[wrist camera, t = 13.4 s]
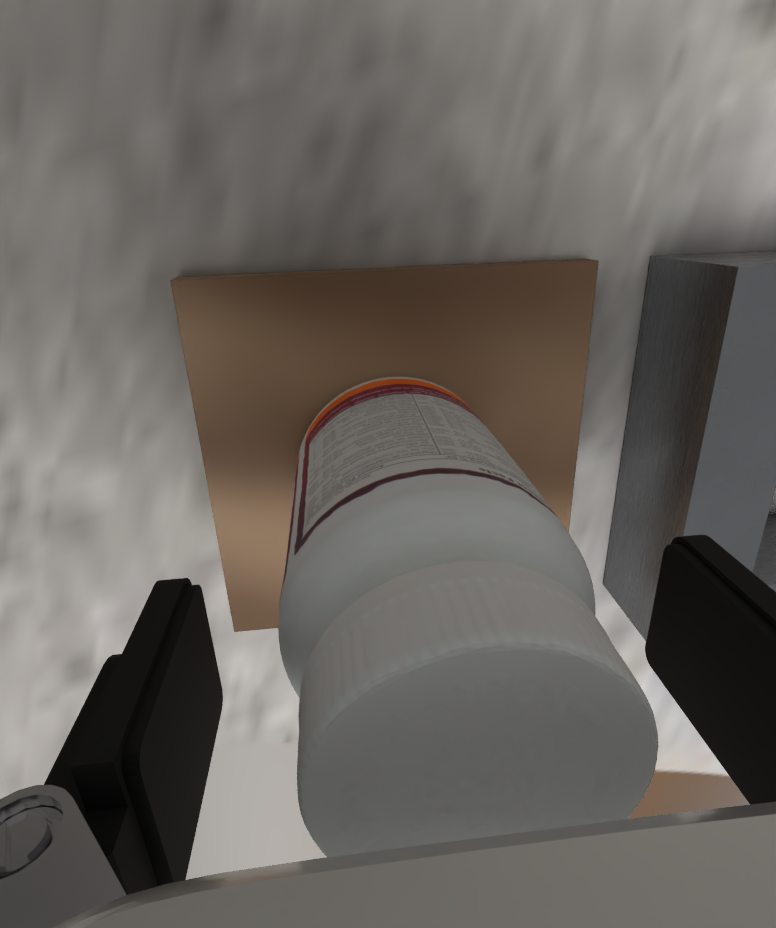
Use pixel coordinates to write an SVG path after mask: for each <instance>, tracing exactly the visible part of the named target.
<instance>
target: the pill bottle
mask: <svg viewBox="0 0 776 928" xmlns="http://www.w3.org/2000/svg"><path fill="white" fill-rule="evenodd" d="M278 628H279V643H280V651H281V655H282V660H283V664H284V667H285V670H286V673H287V675H288V678H289V680H290V682H291V684H292V686H293V688H294V690H295V691H296V693H297V695H298V696H299V698H300V702H299V743H298V765H297V786H298V800H299V806H300V811H301V815H302V818H303V821H304V823H305V825H306V827H307V829H308V831H309V833H310V835H311V836H312V838H313V840H314V841H315V843H316V844H317V845H318V846H319V848H320V849H321V850H322V852H323V853H324V854H325V855H326V856H327V857H335V856H342V855H350V854H358V853H365V852H373V851H381V850H388V849H396V848H404V847H412V846H419V845H427V844H435V843H442V842H450V841H458V840H465V839H473V838H481V837H489V836H497V835H505V834H513V833H521V832H529V831H537V830H545V829H553V828H561V827H569V826H577V825H585V824H593V823H602V822H610V821H618V820H626V819H628V818H629V817H630V816H631V814H632V813H633V811H634V810H635V808H636V807H637V806H638V804H639V803H640V801H641V800H642V798H643V797H644V794H645V792H646V790H647V788H648V786H649V784H650V782H651V779H652V777H653V774H654V771H655V765H656V761H657V751H658V734H657V728H656V723H655V719H654V715H653V711H652V709H651V707H650V704H649V702H648V700H647V698H646V696H645V694H644V692H643V690H642V689H641V687H640V685H639V684H638V682H637V681H636V679H635V677H634V676H633V674H632V673H631V671H630V670H629V668H628V667H627V665H626V664H625V662H624V661H623V659H622V658H621V656H620V655H619V653H618V652H617V650H616V649H615V648H614V646H613V644H612V643H611V641H610V639H609V637H608V635H607V634H606V632H605V630H604V629H603V627H602V626H601V624H600V623H599V621H598V620H597V618H596V617H595V597H594V590H593V584H592V580H591V577H590V574H589V571H588V568H587V565H586V563H585V561H584V559H583V556H582V555H581V553H580V551H579V549H578V547H577V546H576V544H575V543H574V541H573V540H572V538H571V536H570V534H569V532H568V530H567V529H566V528H565V526H564V525H563V524H562V522H561V521H560V519H559V518H558V517H557V516H556V515H555V513H554V512H553V511H552V510H551V508H550V507H549V506H548V504H547V503H546V501H545V500H544V499H543V497H542V496H541V494H540V493H539V491H538V490H537V489H536V488H535V486H534V485H533V484H532V482H531V481H530V480H529V479H528V477H527V476H526V475H525V473H524V472H523V471H522V470H521V469H520V467H519V466H518V465H517V464H516V463H515V461H514V460H513V459H512V458H511V456H510V455H509V454H508V452H507V451H506V450H505V449H504V447H503V446H502V445H501V444H500V443H499V442H498V440H497V439H496V438H495V437H494V435H493V434H492V433H491V432H490V430H489V429H488V428H487V426H485V424H484V423H483V422H482V421H481V420H480V418H479V417H478V416H477V415H476V414H475V412H474V411H473V410H472V409H471V408H470V407H469V406H468V405H467V404H466V403H465V402H464V401H463V400H462V399H460V398H459V397H458V396H457V395H455V394H454V393H453V392H451V391H449V390H447V389H446V388H444V387H442V386H440V385H437V384H435V383H432V382H430V381H426V380H423V379H417V378H410V377H385V378H378V379H374V380H370V381H367V382H364V383H361V384H359V385H356V386H354V387H352V388H350V389H348V390H346V391H344V392H343V393H341V394H339V395H338V396H337V397H336V398H334V399H333V400H332V401H331V402H329V403H328V404H327V405H326V406H325V407H324V408H323V409H322V410H321V411H320V412H319V414H318V415H317V416H316V418H315V419H314V420H313V422H312V423H311V425H310V426H309V428H308V430H307V432H306V434H305V436H304V439H303V441H302V444H301V447H300V451H299V455H298V460H297V467H296V475H295V480H294V492H293V504H292V512H291V522H290V531H289V539H288V548H287V557H286V565H285V573H284V579H283V584H282V589H281V596H280V602H279V625H278Z"/></svg>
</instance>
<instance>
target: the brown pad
mask: <svg viewBox="0 0 776 928" xmlns="http://www.w3.org/2000/svg"><path fill="white" fill-rule="evenodd" d="M597 270H598V261H596V260H590V259H576V260H553V261H531V262H508V263H486V264H463V265H441V266H418V267H396V268H373V269H351V270H328V271H306V272H283V273H261V274H238V275H216V276H193V277H177V278H174V279H172V280H171V285H172V291H173V296H174V302H175V307H176V313H177V318H178V324H179V329H180V335H181V340H182V346H183V351H184V357H185V362H186V368H187V373H188V379H189V384H190V390H191V395H192V401H193V406H194V412H195V417H196V423H197V428H198V434H199V439H200V445H201V450H202V456H203V461H204V467H205V472H206V478H207V483H208V489H209V495H210V500H211V506H212V511H213V517H214V522H215V528H216V533H217V539H218V544H219V550H220V555H221V561H222V566H223V572H224V577H225V583H226V588H227V594H228V599H229V605H230V610H231V616H232V621H233V627H234V632H238V631H249V630H259V629H270V628H278V625H279V602H280V596H281V589H282V584H283V579H284V573H285V565H286V557H287V548H288V539H289V531H290V522H291V512H292V504H293V492H294V480H295V475H296V467H297V460H298V455H299V451H300V447H301V444H302V441H303V439H304V436H305V434H306V432H307V430H308V428H309V426H310V425H311V423H312V422H313V420H314V419H315V418H316V416H317V415H318V414H319V412H320V411H321V410H322V409H323V408H324V407H325V406H326V405H327V404H328V403H329V402H331V401H332V400H333V399H334V398H336V397H337V396H338V395H339V394H341V393H343V392H344V391H346V390H348V389H350V388H352V387H354V386H356V385H359V384H361V383H364V382H367V381H370V380H374V379H378V378H385V377H410V378H417V379H423V380H426V381H430V382H432V383H435V384H437V385H440V386H442V387H444V388H446V389H447V390H449V391H451V392H453V393H454V394H455V395H457V396H458V397H459V398H460V399H462V400H463V401H464V402H465V403H466V404H467V405H468V406H469V407H470V408H471V409H472V410H473V411H474V412H475V414H476V415H477V416H478V417H479V418H480V420H481V421H482V422H483V423H484V424H485V426H487V428H488V429H489V430H490V432H491V433H492V434H493V435H494V437H495V438H496V439H497V440H498V442H499V443H500V444H501V445H502V446H503V447H504V449H505V450H506V451H507V452H508V454H509V455H510V456H511V458H512V459H513V460H514V461H515V463H516V464H517V465H518V466H519V467H520V469H521V470H522V471H523V472H524V473H525V475H526V476H527V477H528V479H529V480H530V481H531V482H532V484H533V485H534V486H535V488H536V489H537V490H538V491H539V493H540V494H541V496H542V497H543V499H544V500H545V501H546V503H547V504H548V506H549V507H550V508H551V510H552V511H553V512H554V513H555V515H556V516H557V517H558V518H559V519H560V521H561V522H562V524H563V525H564V526H565V528H566V529H567V530H568V532H569V524H570V515H571V506H572V497H573V488H574V478H575V469H576V460H577V451H578V442H579V433H580V424H581V415H582V406H583V397H584V388H585V379H586V370H587V360H588V351H589V342H590V333H591V324H592V315H593V306H594V297H595V288H596V279H597Z"/></svg>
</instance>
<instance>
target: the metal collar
mask: <svg viewBox="0 0 776 928" xmlns="http://www.w3.org/2000/svg"><path fill="white" fill-rule="evenodd" d="M775 487H776V251H756V252H734V253H711V254H689V255H666V256H651V257H650V264H649V271H648V278H647V285H646V292H645V299H644V305H643V312H642V319H641V326H640V333H639V340H638V347H637V354H636V361H635V368H634V374H633V381H632V388H631V395H630V402H629V409H628V416H627V423H626V430H625V436H624V443H623V450H622V457H621V464H620V471H619V478H618V485H617V492H616V499H615V505H614V512H613V519H612V526H611V533H610V540H609V547H608V554H607V561H606V568H605V574H604V581H603V585H604V586H605V587H606V589H607V590H608V591H609V593H610V594H611V595H612V597H613V598H614V599H615V601H616V602H617V603H618V605H619V606H620V607H621V609H622V610H623V611H624V613H625V614H626V615H627V617H628V618H629V619H630V621H631V622H632V623H633V625H634V626H635V627H636V629H637V630H638V631H639V633H640V634H641V635H642V637H643V638H644V639H645V641H646V640H647V635H648V630H649V625H650V620H651V614H652V609H653V604H654V599H655V593H656V588H657V583H658V578H659V573H660V567H661V562H662V557H663V552H664V549H665V547H666V546H667V545H669V544H671V542H672V540H673V539H674V538H676V537H679V536H691V535H707V536H709V537H710V538H712V539H713V540H714V541H715V542H716V543H718V544H719V545H720V546H721V547H722V548H724V549H725V550H726V551H727V552H728V553H730V554H731V555H732V556H733V557H734V558H736V559H737V560H738V561H739V562H740V563H742V564H743V565H744V566H745V567H746V568H748V569H749V570H750V571H751V572H752V573H753V574H755V575H756V576H757V577H758V578H759V579H761V580H762V581H763V582H764V583H765V584H767V585H768V586H769V587H770V588H771V589H773V590H774V591H775V592H776V515H768V513H769V509H770V506H771V502H772V498H773V494H774V491H775Z"/></svg>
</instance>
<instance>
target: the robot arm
mask: <svg viewBox="0 0 776 928" xmlns="http://www.w3.org/2000/svg"><path fill="white" fill-rule="evenodd" d="M645 652H646V657H647V660H648V663H649V664H650V666H651V668H652V669H653V670H654V672H655V673H656V674H657V676H658V677H659V679H660V680H661V681H662V683H663V684H664V686H665V687H666V688H667V690H668V691H669V693H670V694H671V695H672V697H673V698H674V699H675V701H676V702H677V704H678V705H679V706H680V708H681V709H682V711H683V712H684V713H685V715H686V716H687V717H688V719H689V720H690V722H691V723H692V724H693V726H694V727H695V729H696V730H697V731H698V733H699V734H700V735H701V737H702V738H703V740H704V741H705V742H706V744H707V745H708V747H709V748H710V749H711V751H712V752H713V754H714V755H715V756H716V758H717V759H718V760H719V762H720V763H721V765H722V766H723V767H724V769H725V770H726V772H727V773H728V774H729V776H730V777H731V778H732V780H733V781H734V783H735V784H736V785H737V787H738V788H739V790H740V791H741V792H742V794H743V795H744V796H745V798H746V799H747V801H748V802H749V803H750V805H744V806H735V807H727V808H718V809H711V810H701V811H693V812H685V813H676V814H668V815H659V816H651V817H643V818H634V819H626V820H618V821H610V822H602V823H593V824H585V825H577V826H569V827H561V828H553V829H545V830H537V831H529V832H521V833H513V834H505V835H497V836H489V837H481V838H473V839H465V840H458V841H450V842H442V843H435V844H427V845H419V846H412V847H404V848H396V849H388V850H381V851H373V852H365V853H358V854H350V855H342V856H335V857H327V858H320V859H313V860H306V861H300V862H293V863H286V864H279V865H272V866H266V867H259V868H253V869H246V870H239V871H232V872H226V873H219V874H214V875H209V876H204V877H199V878H194V879H189V880H185V879H186V874H187V869H188V864H189V860H190V855H191V851H192V846H193V842H194V837H195V832H196V827H197V823H198V818H199V814H200V809H201V804H202V799H203V795H204V790H205V785H206V780H207V776H208V771H209V767H210V762H211V757H212V752H213V748H214V743H215V739H216V734H217V729H218V725H219V720H220V715H221V711H222V702H223V695H222V686H221V682H220V677H219V672H218V667H217V662H216V657H215V652H214V647H213V642H212V637H211V632H210V627H209V622H208V618H207V613H206V608H205V603H204V598H203V593H202V589H201V587H200V585H192V584H191V582H190V580H189V579H188V578H183V579H171V580H159V581H157V582H156V583H155V585H154V587H153V589H152V591H151V593H150V595H149V598H148V600H147V602H146V604H145V606H144V608H143V610H142V612H141V615H140V617H139V619H138V621H137V623H136V625H135V627H134V630H133V632H132V634H131V636H130V638H129V640H128V642H127V644H126V647H125V649H124V651H123V653H122V654H118V655H112V656H111V657H109V658H108V659H107V661H106V662H105V664H104V665H103V667H102V669H101V671H100V673H99V675H98V677H97V679H96V681H95V683H94V685H93V687H92V689H91V691H90V693H89V695H88V697H87V699H86V701H85V703H84V705H83V707H82V709H81V711H80V713H79V715H78V717H77V719H76V721H75V723H74V725H73V727H72V729H71V731H70V733H69V735H68V737H67V739H66V741H65V743H64V745H63V747H62V749H61V751H60V753H59V755H58V757H57V759H56V761H55V763H54V765H53V767H52V769H51V771H50V774H49V776H48V778H47V780H46V782H45V784H44V785H35V786H32V787H28V788H25V789H21V790H18V791H16V792H14V793H12V794H10V795H8V796H6V797H4V798H2V799H0V928H776V592H775V591H774V590H773V589H771V588H770V587H769V586H768V585H767V584H765V583H764V582H763V581H762V580H761V579H759V578H758V577H757V576H756V575H755V574H753V573H752V572H751V571H750V570H749V569H748V568H746V567H745V566H744V565H743V564H742V563H740V562H739V561H738V560H737V559H736V558H734V557H733V556H732V555H731V554H730V553H728V552H727V551H726V550H725V549H724V548H722V547H721V546H720V545H719V544H718V543H716V542H715V541H714V540H713V539H712V538H710V537H709V536H707V535H691V536H679V537H676V538H674V539H673V540H672V542H671V544H669V545H667V546H666V547H665V549H664V552H663V557H662V562H661V567H660V573H659V578H658V583H657V588H656V593H655V599H654V604H653V609H652V614H651V620H650V625H649V630H648V635H647V640H646V646H645Z"/></svg>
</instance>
